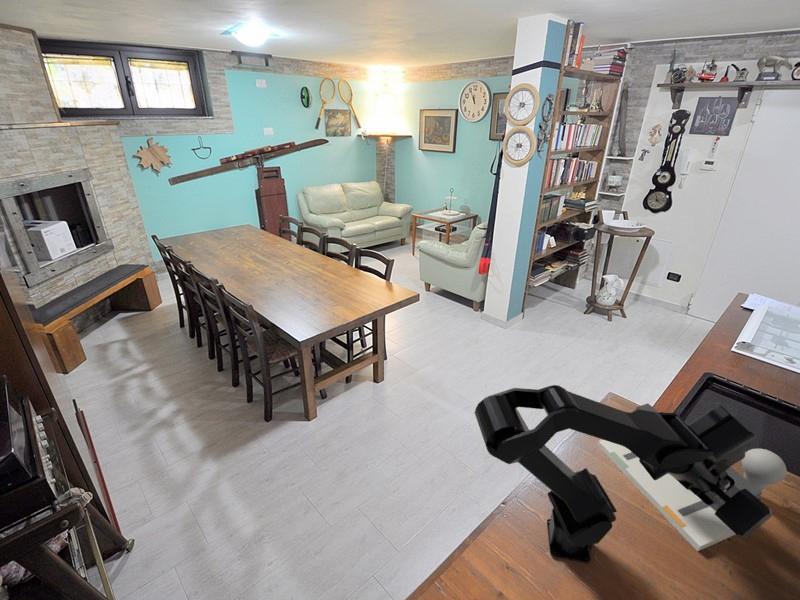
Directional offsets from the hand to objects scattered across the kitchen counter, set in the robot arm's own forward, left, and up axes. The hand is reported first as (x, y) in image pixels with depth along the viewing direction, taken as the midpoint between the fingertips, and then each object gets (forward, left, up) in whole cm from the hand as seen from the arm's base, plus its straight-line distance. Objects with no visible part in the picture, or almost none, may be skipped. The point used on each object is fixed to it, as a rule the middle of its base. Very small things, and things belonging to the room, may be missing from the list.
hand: (714, 485), depth 70 cm
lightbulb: (+10, +5, -7) cm, 13 cm away
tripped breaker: (+1, +1, -5) cm, 5 cm away
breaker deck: (-4, +5, -7) cm, 10 cm away
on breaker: (-6, +12, -5) cm, 14 cm away
